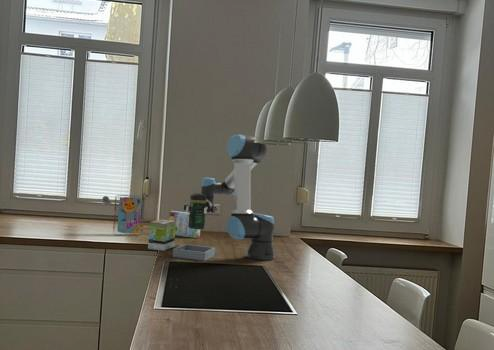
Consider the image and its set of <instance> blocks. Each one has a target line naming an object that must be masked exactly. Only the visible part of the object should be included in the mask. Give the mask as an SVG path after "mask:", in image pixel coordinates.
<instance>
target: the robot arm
mask: <svg viewBox="0 0 494 350" xmlns="http://www.w3.org/2000/svg"><path fill="white" fill-rule="evenodd" d="M255 136H256V135H255ZM255 136H254V135H249V134H234V135H232V136H230V138H229V140H228V142H227V145H226V152H227V154H228V156H230V157H231V158H230V159H231V160H230V161H231V162H232V163H233V164H234V168H233V170H232V171H231V172H229V173H230V174H229V175H227V177H226V178H225V179H224V180H223V181H218V180H217V181H216V179H215V178H213V177H203V178H201V179H202V180H201V184H200V186H201V187H200V188H201V189H200V193H201V194H204V195H205V196H206V208H204V214H205V215H206V214H207V213H210V212H211V213H212V214H213V213H214V211H215V202H214V198H215V195H217V196H218V195H221V196H222V195H223V196H231V195H232V196H234V197H233V198H234V199H233V206H234V208H233V210H232V211H231V213H230V214H231V215H230V216H229V217H228V218H227V220H226V230H227V233H228V235H230V237H231V238H232V239H235V240H246V239H247V240H249V239H250V243H249V246H248V249H247V250H246V257H247V258H249V259H253V260H257V261H259V260H260V261H273V260H275V257H276V252H275V250H274V245H273V240H274V232H275V231H274V230H275V218H274V216H272V215H267V214H262V213H255V212H254V211H253V210H252V209H251V207H252V205H251V204H252V203H251V201H252V195H251V194H252V189H251V188H252V186H251V185H252V183H251V182H252V180H251V179H252V175H251V174H252V173H251V172H252V170H253V168H255V167H256V165H258V164H260V163H262V162H263V160H264V159H265V157H266V156H267V153H268V145H267V143H266V144H260V143H254V141H255ZM183 210H184V211H186V212H187V213H189V212H190V203H189V204H184V206H183Z"/></svg>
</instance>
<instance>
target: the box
mask: <svg viewBox="0 0 494 350" xmlns="http://www.w3.org/2000/svg"><path fill="white" fill-rule="evenodd" d="M114 199H115V200H114V214H113V215H114V216H113V225H112V226H113V227H112V230H113V235H115V236H116V237H117V236H118V234H117V233H119V234H120V236H123V234H128V236H134V237H137V236H138V237H139V235H142V234H143V232H144V231H143V230H144V229H141V228H143V226H144V220H145V219H144V217H145V216H144V211H145V205H146V204H145V203H146V202H145V196H142V195H138V197H137V196H135V195H134V194H133V195H132V194H131V195H129V194H126V195H125V194H117V196H115V198H114ZM117 199H118V200H117ZM102 203H103V204H105V205H109V204H110V205H112V204H113V202H111V201H110V197H108V196H107V195H104V196H103V197H102ZM117 208H118V209H117ZM116 212H117V214H116ZM116 219H117V222H116ZM115 228H116V231H117V233H116V231H115ZM140 229H141V232H140ZM115 233H116V234H115ZM122 233H123V234H122ZM135 233H140V234H135Z"/></svg>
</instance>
